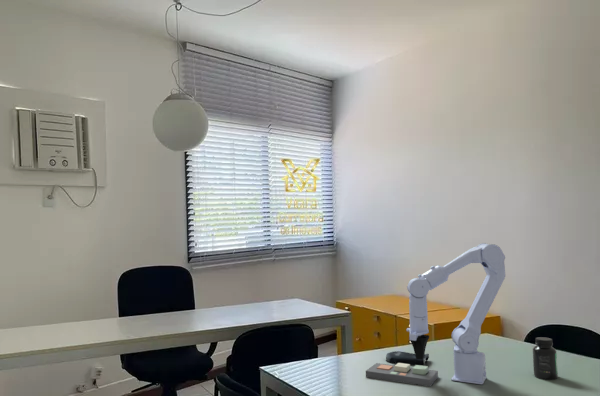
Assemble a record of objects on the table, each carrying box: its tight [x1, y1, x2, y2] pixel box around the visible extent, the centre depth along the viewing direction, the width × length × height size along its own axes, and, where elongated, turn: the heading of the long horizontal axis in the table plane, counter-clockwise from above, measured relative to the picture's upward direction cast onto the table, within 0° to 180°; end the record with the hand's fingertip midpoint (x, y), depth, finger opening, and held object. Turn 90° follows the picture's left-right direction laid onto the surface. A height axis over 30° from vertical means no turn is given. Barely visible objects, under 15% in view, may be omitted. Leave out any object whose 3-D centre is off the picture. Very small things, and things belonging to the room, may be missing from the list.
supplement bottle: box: [532, 336, 559, 381], centre depth 153 cm, size 7×7×12 cm
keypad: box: [365, 362, 439, 387], centre depth 155 cm, size 21×10×2 cm, turn 60°
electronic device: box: [385, 350, 430, 366], centre depth 173 cm, size 9×6×15 cm
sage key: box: [412, 365, 429, 375], centre depth 153 cm, size 4×4×2 cm
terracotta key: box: [377, 363, 393, 370], centre depth 159 cm, size 4×4×2 cm
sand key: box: [394, 363, 411, 373], centre depth 156 cm, size 4×4×2 cm
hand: (419, 358), depth 153 cm, fingers closed
